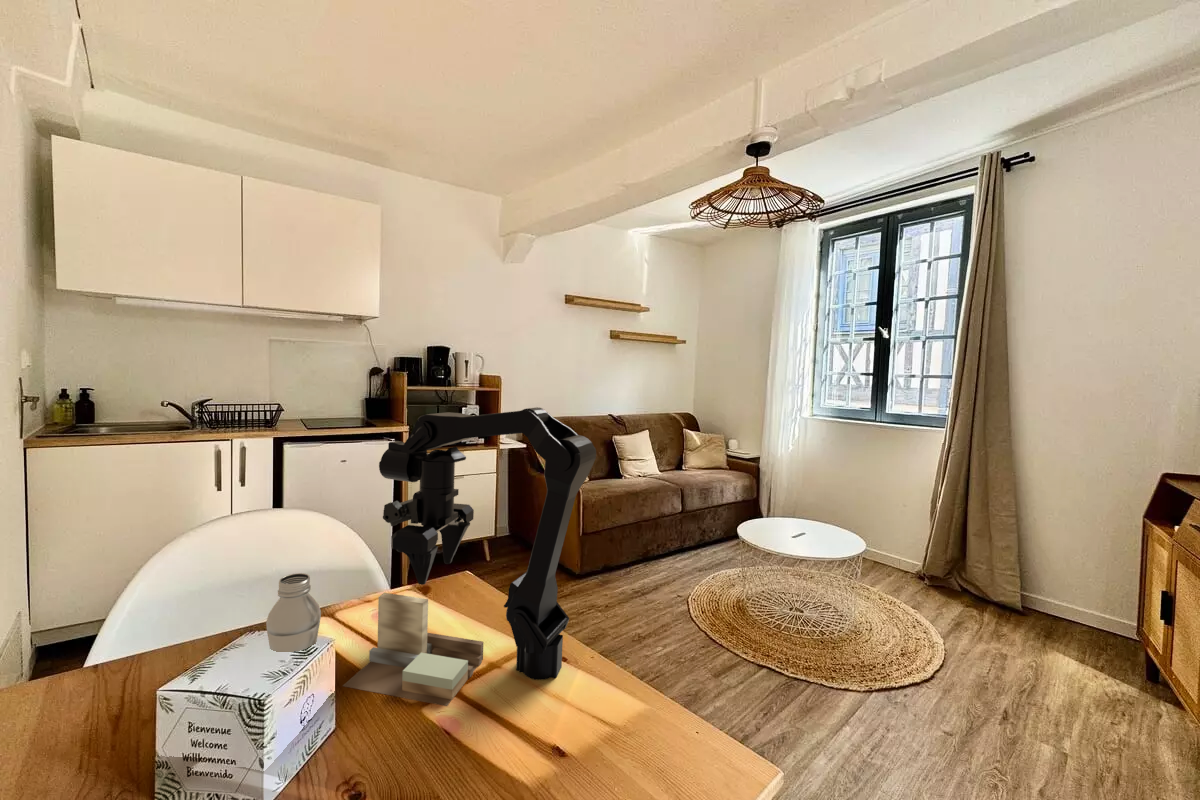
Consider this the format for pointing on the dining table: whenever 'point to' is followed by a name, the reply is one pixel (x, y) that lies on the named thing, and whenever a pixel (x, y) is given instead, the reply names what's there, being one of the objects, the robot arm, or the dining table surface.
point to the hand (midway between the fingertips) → (435, 573)
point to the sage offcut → (435, 670)
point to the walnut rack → (389, 665)
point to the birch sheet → (402, 623)
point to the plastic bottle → (293, 616)
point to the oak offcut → (434, 688)
